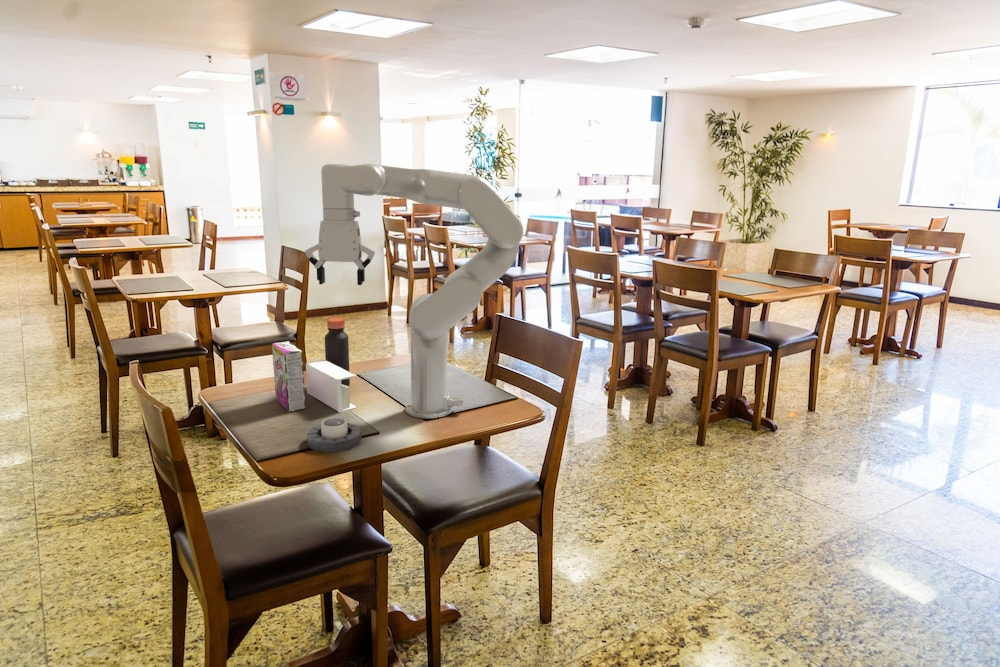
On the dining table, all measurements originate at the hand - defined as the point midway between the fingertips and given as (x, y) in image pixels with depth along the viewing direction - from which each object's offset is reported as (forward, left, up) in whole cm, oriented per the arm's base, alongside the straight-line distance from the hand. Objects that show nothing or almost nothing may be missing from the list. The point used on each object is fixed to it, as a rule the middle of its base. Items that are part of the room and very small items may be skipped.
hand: (341, 283), depth 169 cm
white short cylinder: (-2, +20, -34) cm, 40 cm away
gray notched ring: (-2, +20, -34) cm, 40 cm away
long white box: (+6, -8, -35) cm, 36 cm away
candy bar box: (+16, -4, -34) cm, 38 cm away
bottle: (+7, -21, -34) cm, 41 cm away
